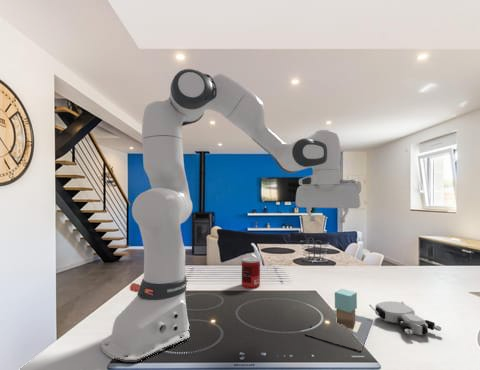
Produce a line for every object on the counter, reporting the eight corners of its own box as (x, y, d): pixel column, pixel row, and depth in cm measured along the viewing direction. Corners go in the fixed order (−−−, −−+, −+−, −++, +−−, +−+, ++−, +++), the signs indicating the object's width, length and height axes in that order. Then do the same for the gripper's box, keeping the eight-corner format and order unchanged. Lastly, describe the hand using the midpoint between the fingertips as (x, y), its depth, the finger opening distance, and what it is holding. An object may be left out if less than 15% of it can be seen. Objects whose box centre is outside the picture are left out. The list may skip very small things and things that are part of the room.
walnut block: (353, 329, 73) (353, 312, 74) (336, 325, 76) (336, 309, 76) (355, 322, 77) (355, 306, 78) (339, 319, 80) (339, 303, 80)
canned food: (260, 283, 114) (260, 257, 115) (259, 289, 106) (259, 261, 107) (242, 282, 115) (242, 256, 116) (240, 288, 107) (241, 261, 108)
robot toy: (445, 339, 71) (400, 312, 86) (445, 323, 71) (400, 298, 86) (406, 344, 68) (367, 315, 83) (407, 327, 68) (367, 301, 83)
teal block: (350, 312, 74) (350, 296, 74) (334, 307, 77) (334, 292, 77) (356, 308, 77) (356, 292, 77) (341, 303, 80) (341, 288, 80)
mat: (361, 352, 63) (361, 350, 63) (304, 334, 71) (304, 333, 71) (373, 320, 80) (373, 319, 80) (326, 309, 87) (326, 308, 87)
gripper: (361, 179, 86) (362, 222, 85) (298, 181, 95) (299, 219, 94) (360, 178, 80) (361, 224, 79) (294, 179, 89) (294, 221, 88)
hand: (326, 221), depth 87 cm, fingers open, 8 cm apart
